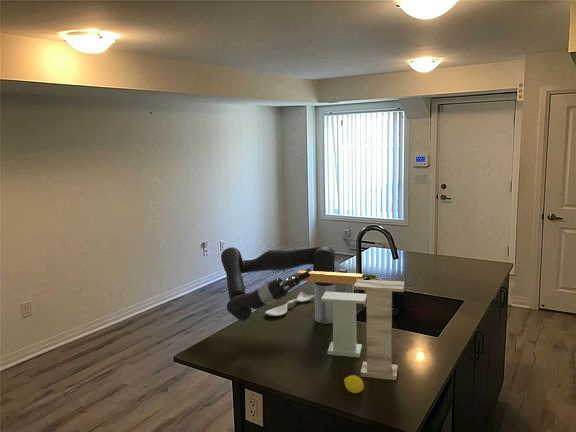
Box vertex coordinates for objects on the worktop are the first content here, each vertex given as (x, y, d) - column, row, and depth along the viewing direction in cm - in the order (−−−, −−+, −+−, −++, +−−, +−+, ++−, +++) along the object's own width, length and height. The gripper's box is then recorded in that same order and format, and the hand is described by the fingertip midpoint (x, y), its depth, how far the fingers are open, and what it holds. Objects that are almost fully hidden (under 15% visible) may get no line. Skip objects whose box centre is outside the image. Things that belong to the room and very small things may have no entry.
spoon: (316, 300, 240) (316, 293, 239) (276, 321, 215) (276, 313, 214) (301, 297, 245) (301, 290, 245) (261, 316, 220) (261, 309, 220)
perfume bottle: (340, 302, 235) (339, 267, 232) (352, 305, 231) (352, 269, 228) (333, 306, 229) (332, 270, 226) (345, 309, 225) (345, 272, 222)
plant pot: (357, 295, 245) (357, 278, 243) (361, 289, 253) (361, 273, 252) (375, 296, 241) (375, 280, 240) (378, 290, 250) (378, 274, 249)
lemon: (366, 392, 154) (368, 377, 153) (357, 399, 150) (359, 384, 149) (348, 383, 158) (349, 368, 157) (339, 390, 154) (340, 375, 153)
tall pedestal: (357, 364, 171) (356, 279, 166) (403, 369, 167) (404, 281, 162) (354, 375, 164) (353, 286, 158) (402, 380, 159) (403, 288, 154)
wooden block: (299, 278, 184) (299, 270, 183) (362, 282, 177) (362, 274, 177) (297, 280, 181) (297, 272, 180) (361, 285, 174) (361, 276, 174)
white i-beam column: (326, 344, 188) (325, 291, 184) (367, 348, 184) (366, 293, 180) (322, 354, 181) (321, 298, 177) (364, 357, 176) (364, 301, 173)
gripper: (282, 293, 192) (318, 275, 187) (272, 306, 179) (311, 286, 174) (273, 277, 192) (309, 258, 187) (262, 288, 179) (300, 268, 174)
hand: (309, 272), depth 180 cm, fingers closed on wooden block, 3 cm apart
